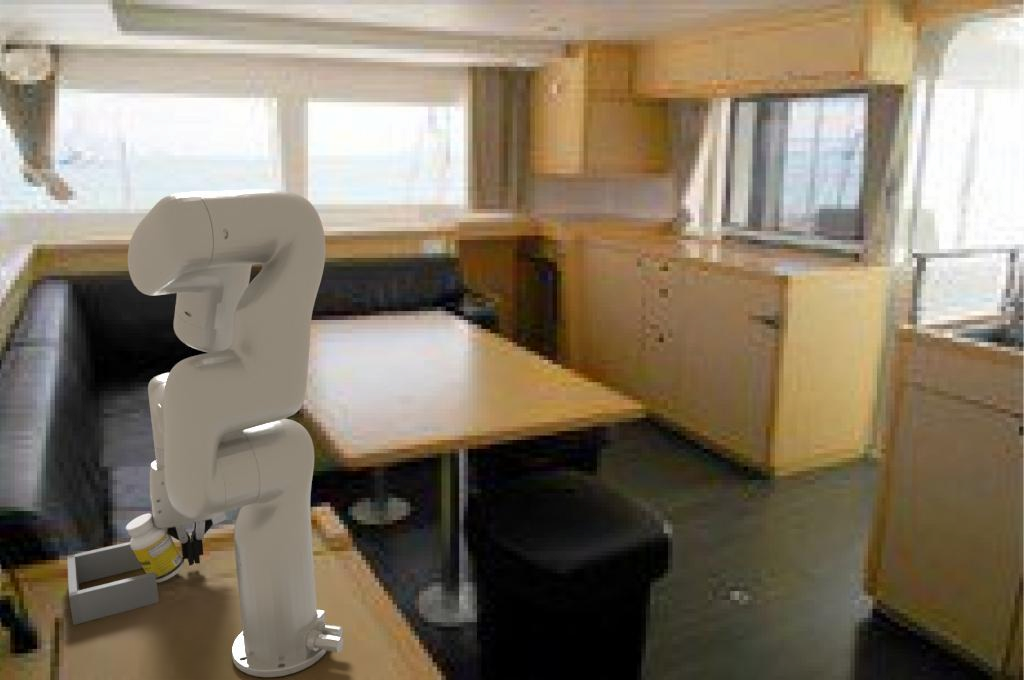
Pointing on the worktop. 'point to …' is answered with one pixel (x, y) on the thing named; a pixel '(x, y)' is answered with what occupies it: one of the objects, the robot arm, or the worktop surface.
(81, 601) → the box
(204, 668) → the worktop surface
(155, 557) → the supplement bottle
